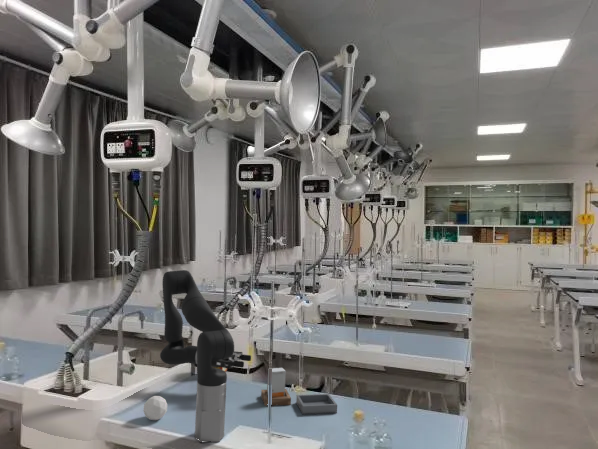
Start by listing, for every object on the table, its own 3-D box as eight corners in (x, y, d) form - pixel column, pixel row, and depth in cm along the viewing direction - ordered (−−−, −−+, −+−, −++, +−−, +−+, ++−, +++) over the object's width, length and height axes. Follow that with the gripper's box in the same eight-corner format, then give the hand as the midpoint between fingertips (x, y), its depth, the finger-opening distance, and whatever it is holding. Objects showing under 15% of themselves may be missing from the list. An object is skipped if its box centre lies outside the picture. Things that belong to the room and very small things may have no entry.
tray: (336, 412, 165) (337, 404, 165) (302, 414, 162) (303, 406, 162) (328, 401, 176) (328, 393, 176) (296, 402, 173) (296, 395, 173)
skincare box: (270, 403, 171) (271, 371, 171) (266, 399, 175) (267, 368, 175) (284, 401, 174) (286, 370, 174) (280, 397, 178) (282, 367, 178)
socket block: (290, 404, 171) (290, 398, 171) (264, 405, 169) (265, 399, 169) (285, 395, 180) (286, 388, 180) (261, 396, 178) (261, 389, 178)
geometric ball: (148, 428, 152) (134, 410, 151) (162, 411, 159) (148, 394, 158) (162, 422, 148) (148, 403, 148) (176, 405, 156) (162, 387, 155)
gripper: (202, 352, 174) (241, 357, 171) (216, 343, 188) (253, 347, 184) (201, 371, 174) (240, 376, 171) (215, 360, 188) (252, 365, 184)
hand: (247, 361), depth 177 cm, fingers open, 8 cm apart
